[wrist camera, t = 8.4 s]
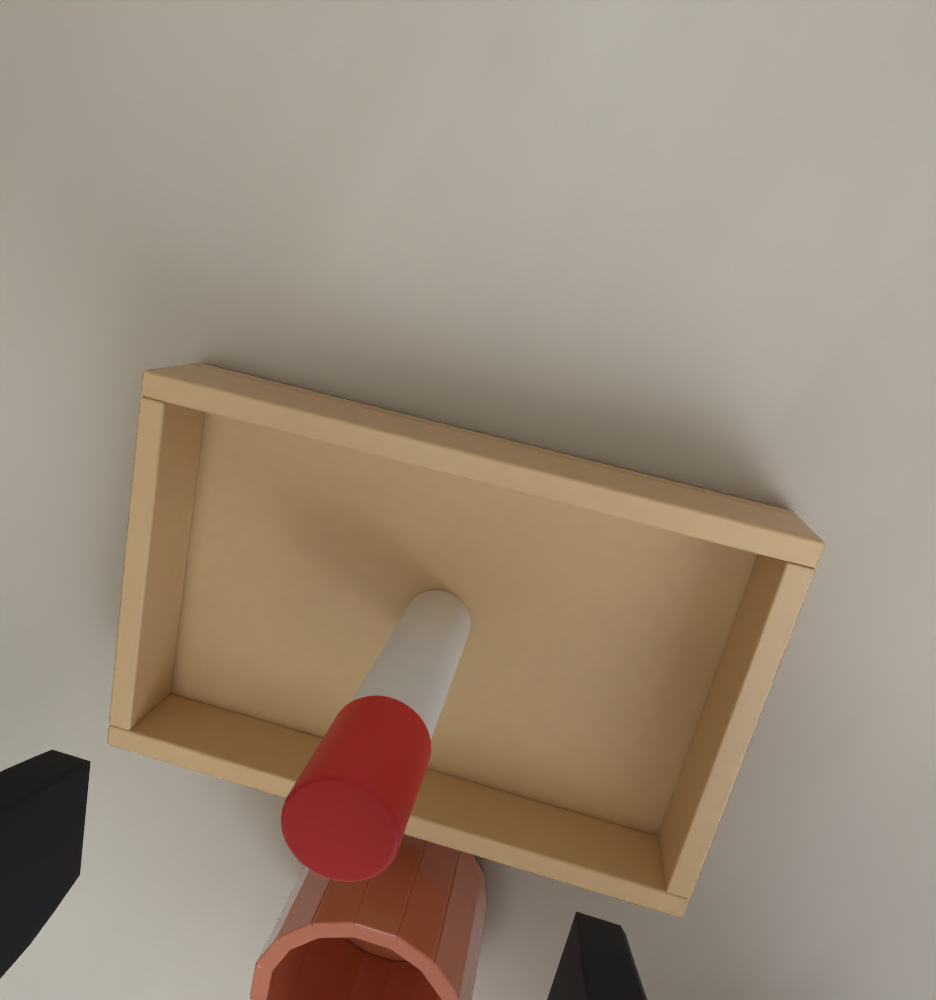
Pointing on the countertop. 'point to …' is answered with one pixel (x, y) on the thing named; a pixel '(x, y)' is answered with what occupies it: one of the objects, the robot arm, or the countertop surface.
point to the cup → (380, 932)
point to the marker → (378, 748)
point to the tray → (493, 611)
